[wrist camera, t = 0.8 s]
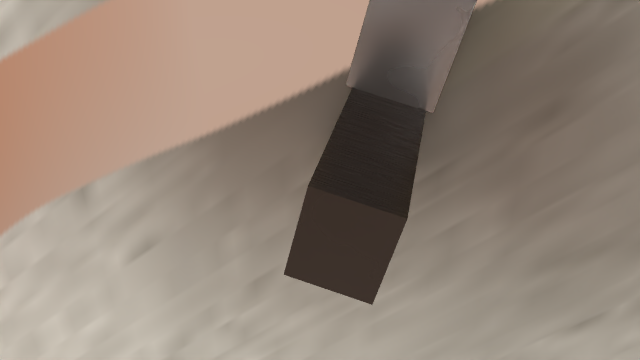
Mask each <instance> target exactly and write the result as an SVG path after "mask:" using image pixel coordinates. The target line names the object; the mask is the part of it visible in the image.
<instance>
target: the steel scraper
mask: <svg viewBox="0 0 640 360" xmlns="http://www.w3.org/2000/svg"><path fill="white" fill-rule="evenodd" d="M476 2H477V0H370V1H369V5H368V8H367V12H366V15H365V19H364V22H363V26H362V29H361V33H360V36H359V40H358V43H357V47H356V50H355V54H354V58H353V61H352V64H351V68H350V71H349V75H348V78H347V82H346V86H349V87H353V88H352V90H351V93H350V95H349V97H348V99H347V101H346V104H345V106H344V108H343V110H342V112H341V115H340V117H339V119H338V121H337V123H336V126H335V128H334V130H333V132H332V134H331V137H330V139H329V141H328V143H327V145H326V148H325V150H324V152H323V154H322V157H321V159H320V161H319V163H318V165H317V168H316V170H315V172H314V174H313V176H312V179H311V181H310V183H309V185H308V188H307V192H306V196H305V199H304V203H303V206H302V210H301V214H300V217H299V221H298V225H297V228H296V232H295V236H294V239H293V243H292V246H291V250H290V254H289V257H288V261H287V265H286V268H285V272H284V275H287V276H290V277H293V278H296V279H298V280H301V281H304V282H307V283H310V284H313V285H316V286H319V287H322V288H325V289H328V290H331V291H334V292H337V293H340V294H343V295H345V296H348V297H351V298H354V299H357V300H360V301H363V302H366V303H369V304H373V302H374V299H375V297H376V294H377V292H378V289H379V287H380V284H381V282H382V280H383V277H384V275H385V272H386V270H387V267H388V265H389V262H390V260H391V258H392V255H393V253H394V250H395V248H396V245H397V243H398V240H399V238H400V235H401V233H402V231H403V228H404V226H405V223H406V221H407V218H408V212H409V206H410V200H411V194H412V188H413V183H414V177H415V171H416V165H417V159H418V153H419V147H420V142H421V136H422V130H423V124H424V118H425V112H426V111H428V112H431V113H433V112H434V110H435V107H436V104H437V102H438V99H439V97H440V94H441V92H442V89H443V86H444V84H445V81H446V79H447V76H448V74H449V71H450V69H451V66H452V63H453V61H454V58H455V56H456V53H457V51H458V48H459V45H460V43H461V40H462V38H463V35H464V33H465V30H466V27H467V25H468V22H469V20H470V17H471V15H472V12H473V9H474V7H475V4H476Z"/></svg>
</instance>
